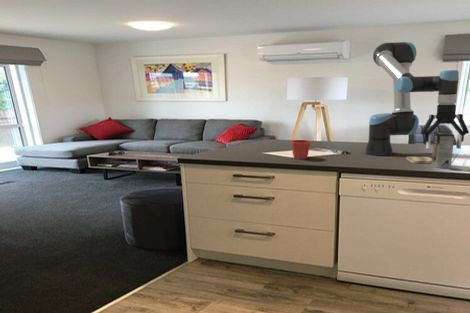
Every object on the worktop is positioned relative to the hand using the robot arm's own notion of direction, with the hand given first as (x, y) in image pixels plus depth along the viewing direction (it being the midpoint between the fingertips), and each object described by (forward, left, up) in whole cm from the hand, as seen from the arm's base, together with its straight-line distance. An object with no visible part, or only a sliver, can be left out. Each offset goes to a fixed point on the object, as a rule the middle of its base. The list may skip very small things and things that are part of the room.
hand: (443, 148), depth 162 cm
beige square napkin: (-5, +12, -9) cm, 16 cm away
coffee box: (0, 0, -9) cm, 9 cm away
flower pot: (-67, +19, -9) cm, 70 cm away
